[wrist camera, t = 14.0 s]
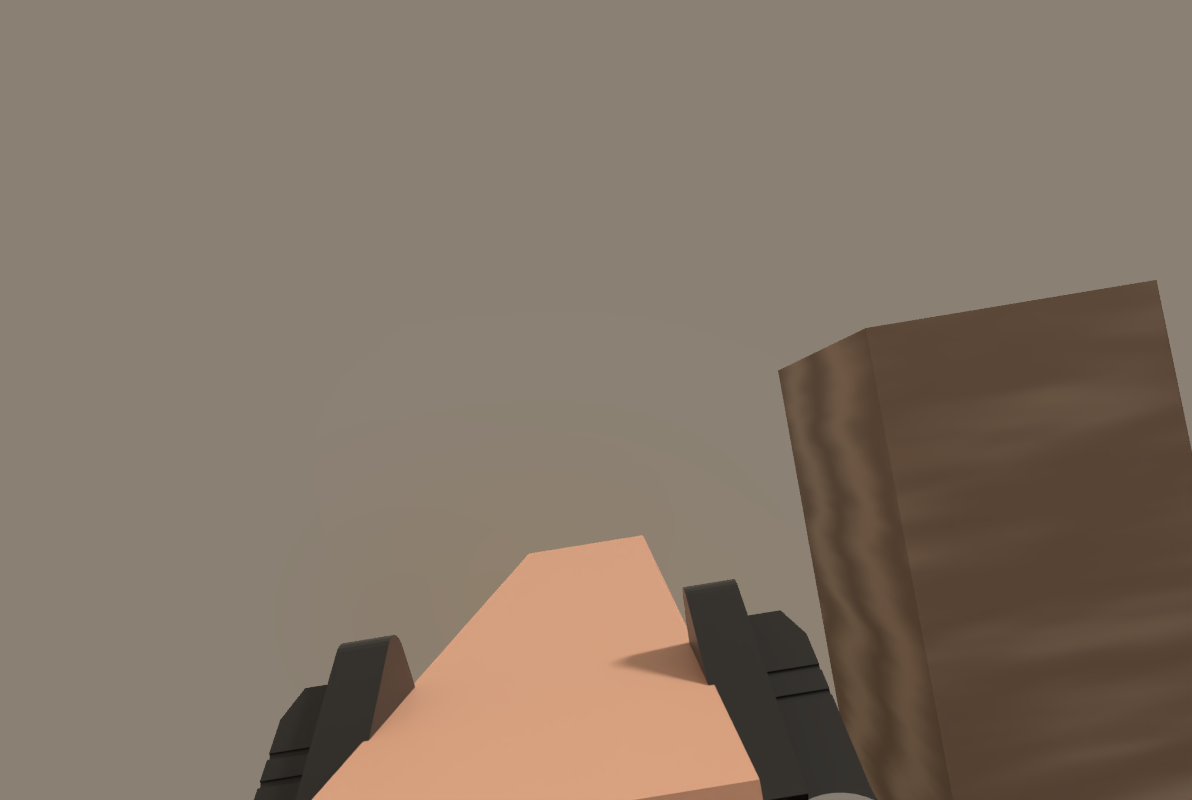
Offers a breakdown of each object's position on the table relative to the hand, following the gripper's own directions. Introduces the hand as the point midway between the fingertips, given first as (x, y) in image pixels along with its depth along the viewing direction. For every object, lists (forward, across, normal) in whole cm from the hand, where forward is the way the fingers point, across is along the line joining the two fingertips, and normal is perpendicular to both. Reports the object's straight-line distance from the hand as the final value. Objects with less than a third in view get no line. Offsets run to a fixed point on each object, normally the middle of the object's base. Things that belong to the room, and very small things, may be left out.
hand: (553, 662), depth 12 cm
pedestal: (+6, +14, -34) cm, 37 cm away
